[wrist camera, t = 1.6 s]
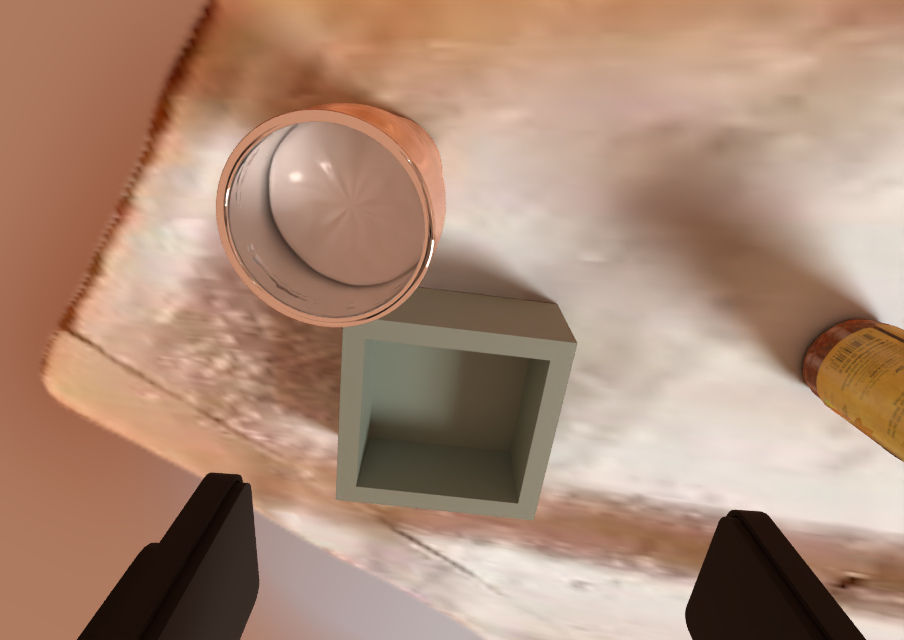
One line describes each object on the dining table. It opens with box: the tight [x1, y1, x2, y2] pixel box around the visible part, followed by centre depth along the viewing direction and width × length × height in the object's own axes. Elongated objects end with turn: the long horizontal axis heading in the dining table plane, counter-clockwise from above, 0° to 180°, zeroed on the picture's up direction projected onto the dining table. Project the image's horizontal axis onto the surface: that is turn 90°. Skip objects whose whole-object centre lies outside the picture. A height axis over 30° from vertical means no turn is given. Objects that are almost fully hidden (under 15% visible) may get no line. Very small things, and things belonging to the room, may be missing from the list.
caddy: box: [336, 287, 577, 520], centre depth 31 cm, size 12×12×6 cm
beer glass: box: [216, 103, 446, 328], centre depth 22 cm, size 7×7×15 cm
